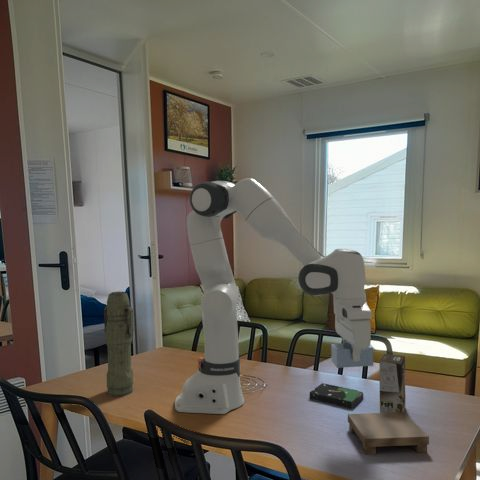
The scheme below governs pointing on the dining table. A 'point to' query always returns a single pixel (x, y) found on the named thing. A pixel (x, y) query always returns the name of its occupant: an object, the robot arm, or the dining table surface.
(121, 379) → the thermos
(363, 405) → the dining table surface
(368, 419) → the stand
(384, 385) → the coffee box
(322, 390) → the disk drive
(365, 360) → the block
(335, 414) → the dining table surface
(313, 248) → the robot arm
